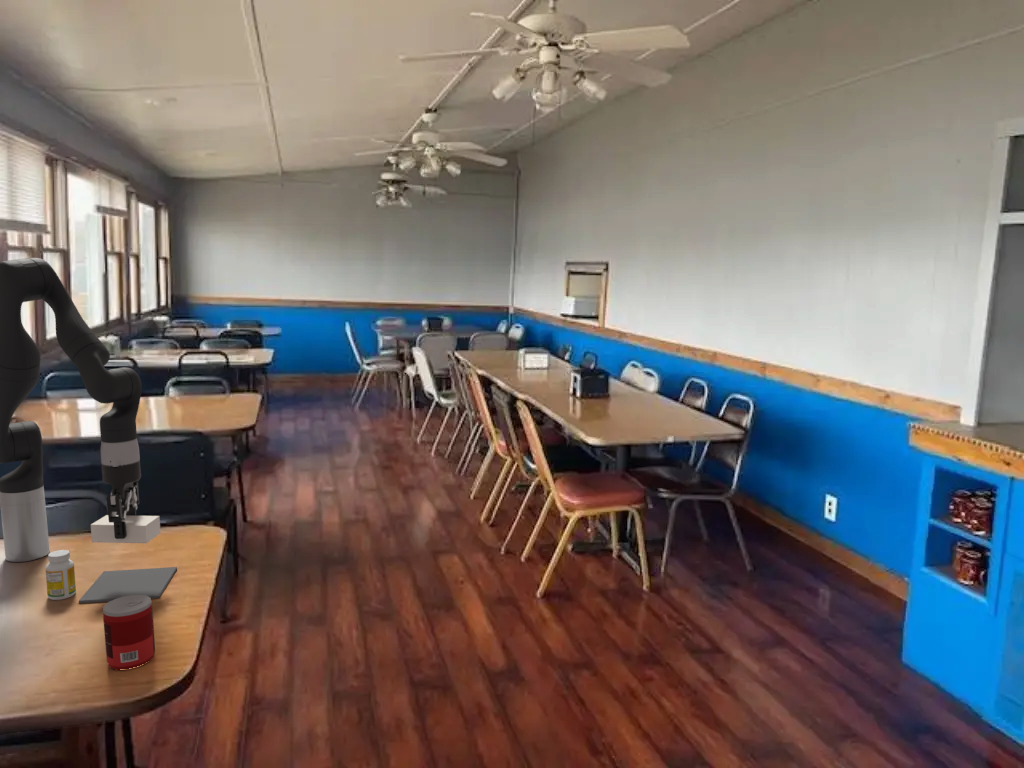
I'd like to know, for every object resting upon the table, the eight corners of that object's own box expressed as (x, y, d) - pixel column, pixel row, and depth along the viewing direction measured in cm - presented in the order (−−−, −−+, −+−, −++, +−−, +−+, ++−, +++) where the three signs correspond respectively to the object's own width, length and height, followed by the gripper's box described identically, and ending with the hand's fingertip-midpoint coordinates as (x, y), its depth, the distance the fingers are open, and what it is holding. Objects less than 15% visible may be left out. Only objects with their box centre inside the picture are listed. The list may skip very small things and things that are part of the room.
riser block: (107, 532, 174) (106, 515, 174) (160, 533, 174) (159, 516, 174) (92, 542, 168) (90, 524, 167) (146, 543, 168) (145, 525, 167)
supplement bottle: (53, 602, 164) (49, 559, 162) (43, 595, 167) (40, 553, 166) (80, 594, 168) (76, 552, 166) (70, 588, 171) (67, 546, 170)
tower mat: (103, 573, 179) (103, 571, 179) (177, 569, 182) (176, 566, 182) (78, 603, 164) (78, 600, 164) (159, 598, 167) (158, 595, 166)
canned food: (164, 655, 143) (161, 598, 141) (127, 675, 136) (122, 616, 134) (135, 646, 146) (131, 591, 144) (97, 665, 139) (92, 608, 137)
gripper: (112, 452, 175) (118, 522, 177) (90, 469, 161) (96, 544, 163) (148, 451, 176) (153, 520, 179) (129, 467, 162) (134, 542, 165)
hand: (126, 532), depth 171 cm, fingers closed on riser block, 7 cm apart
